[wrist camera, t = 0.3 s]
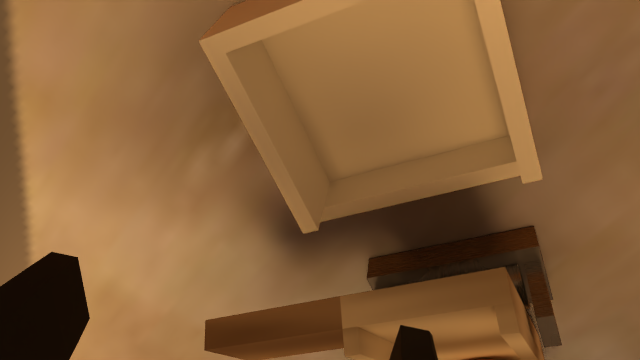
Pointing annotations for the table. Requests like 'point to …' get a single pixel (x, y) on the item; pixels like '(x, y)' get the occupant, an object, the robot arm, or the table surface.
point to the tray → (374, 99)
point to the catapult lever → (390, 322)
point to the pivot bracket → (478, 269)
